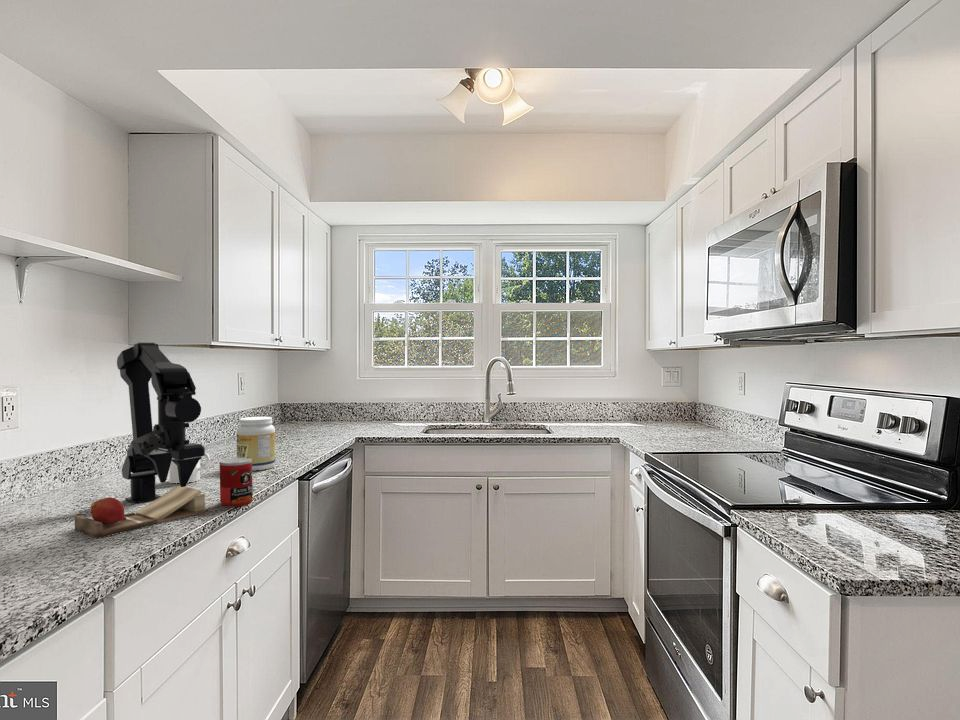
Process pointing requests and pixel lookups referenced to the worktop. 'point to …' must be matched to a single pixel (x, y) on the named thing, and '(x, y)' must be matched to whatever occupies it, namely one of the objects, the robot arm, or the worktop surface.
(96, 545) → the worktop surface
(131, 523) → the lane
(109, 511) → the onion
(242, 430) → the supplement tub
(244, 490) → the canned food
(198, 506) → the ramp
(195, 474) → the mug
